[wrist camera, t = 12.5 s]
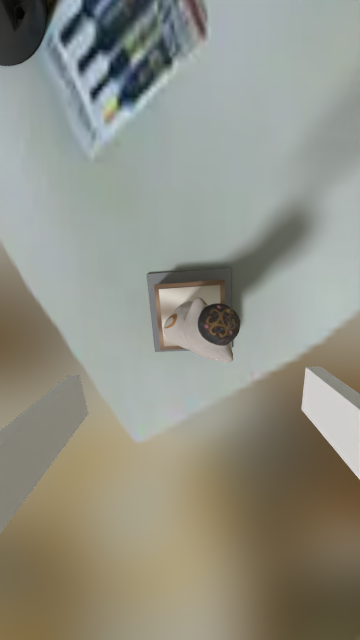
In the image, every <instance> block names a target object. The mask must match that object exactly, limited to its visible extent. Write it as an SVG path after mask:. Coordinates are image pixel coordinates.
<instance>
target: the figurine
mask: <svg viewBox="0 0 360 640" xmlns="http://www.w3.org/2000/svg"><path fill="white" fill-rule="evenodd" d="M239 329H240V320H239V317H238V315H237V314H236V312H235V311H234V310H233V309H232V308H231V307H229V306H228V305H225V304H221V303H217V304H211V305H208V304H207V303H206V302H205V301H204V300H203V299H201V298H199V297H197V298H196V299H195V300H194V301H193V302H191V301H188V302H185V303H183V304H181V305H180V306H178V307H177V308H176V309H175V311H174V312H173V313H172V314H171V315H170V316H169V318H168V319H167V320H166V322H165V324H164V327H163V330H164V334H165V336H166V337H167V338H168V339H169V340H171V341H173V342H175V343H176V344H177V345H179V346H181V347H182V348H185V349H188V350H191V351H193V352H195V353H197V354H198V355H200V356H202V357H205V358H208V359H212V360H218V361H221V362H231V361H232V360H233V353H232V350H231V346H230V345H231V342H232V340H233V339H234V338H235V337H236V336H237V334H238V332H239Z"/></svg>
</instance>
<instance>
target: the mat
mask: <svg viewBox="0 0 360 640" xmlns="http://www.w3.org/2000/svg"><path fill="white" fill-rule="evenodd" d="M207 280H225V305H228V306H229V307H231V308H232V268H221V269H207V270H194V271H181V272H167V273H154V274H147V282H148V291H149V300H150V310H151V319H152V328H153V337H154V347H155V352H165V351H188V349H173V350H160V341H159V331H158V321H157V311H156V301H155V291H154V285H155V284H164V283H178V282H192V281H207ZM230 346H231V349H232V342H231V345H230Z"/></svg>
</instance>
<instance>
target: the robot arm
mask: <svg viewBox="0 0 360 640" xmlns="http://www.w3.org/2000/svg"><path fill="white" fill-rule="evenodd" d="M46 17H47V0H0V65H3V66H10V65H15V64H18V63H20V62H22V61H24V60H26V59H27V58H28V57H29V56H30V55H31V54H32V53H33V52H34V51H35V49H36V48H37V46H38V44H39V43H40V40H41V38H42V36H43V32H44V29H45V24H46ZM302 410H303V412H304V413H305V414H306V415H307V416H308V418H309V419H310V420H311V421H312V423H313V424H314V425H315V426H316V427H317V429H318V430H319V431H320V432H321V433H322V435H323V436H324V437H325V438H326V439H327V441H328V442H329V443H330V444H331V445H332V447H333V448H334V449H335V450H336V451H337V453H338V454H339V455H340V456H341V457H342V458H343V460H344V461H345V462H346V464H348V466H349V467H350V468H351V470H352V471H353V472H354V473H355V474H356V476H357V477H358V478H359V479H360V394H359V393H357V392H356V391H354V390H353V389H352V388H350V387H349V386H347V385H346V384H344V383H343V382H342V381H340V380H338V379H337V378H336V377H335V376H333V375H332V374H330V373H329V372H327V371H326V370H325V369H323V368H322V367H306V371H305V381H304V392H303V400H302ZM87 415H88V410H87V405H86V401H85V396H84V392H83V387H82V384H81V378H80V375H71V376H67V377H66V378H64V379H63V380H62V381H61V382H59V383H58V384H57V385H56V386H55V387H53V388H52V389H51V390H50V391H48V392H47V393H46V394H45V395H43V396H42V397H41V398H40V399H39V400H37V401H36V402H35V403H34V404H32V405H31V406H30V407H29V408H28V409H26V410H25V411H24V412H23V413H21V414H20V415H19V416H18V417H17V418H15V419H14V420H13V421H12V422H10V423H9V424H8V425H7V426H6V427H4V428H3V429H2V430H1V431H0V533H1V532H2V530H3V529H4V528H5V526H6V525H7V524H8V522H9V521H10V519H11V518H12V517H13V515H14V514H15V513H16V511H17V510H18V509H19V507H20V506H21V505H22V503H23V502H24V500H25V499H26V498H27V496H28V495H29V494H30V492H31V491H32V490H33V488H34V487H35V486H36V484H37V483H38V481H39V480H40V479H41V477H42V476H43V474H44V473H45V472H46V471H47V469H48V468H49V466H50V465H51V464H52V462H53V461H54V460H55V458H56V457H57V455H58V454H59V453H60V452H61V450H62V449H63V448H64V446H65V445H66V443H67V442H68V441H69V439H70V438H71V437H72V435H73V434H74V433H75V431H76V430H77V429H78V427H79V426H80V424H81V423H82V421H83V420H84V419H85V418H86V416H87Z"/></svg>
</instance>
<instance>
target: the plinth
mask: <svg viewBox="0 0 360 640" xmlns="http://www.w3.org/2000/svg"><path fill="white" fill-rule="evenodd" d="M154 291H155V301H156V311H157V321H158V331H159V341H160V350H173V349H185V348H182V347H181V346H179V345H177V344H176V343H175V342H173V341H171V340H169V339H168V338H167V337H166V336H165V334H164V330H163V327H164V324H165V322H166V320H167V319H168V318H169V316H170V315H171V314H172V313H173V312H174V311H175V309H176V308H177V307H178V306H180V305H181V304H183V303H185V302H188V301H191V302H193V301H194V300H195V299H196V298H197V297H199V298H201V299H203V300H204V301H205V302H206V303H207V304H208V305H211V304H217V303H221V304H225V280H207V281H192V282H178V283H164V284H155V285H154Z"/></svg>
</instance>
